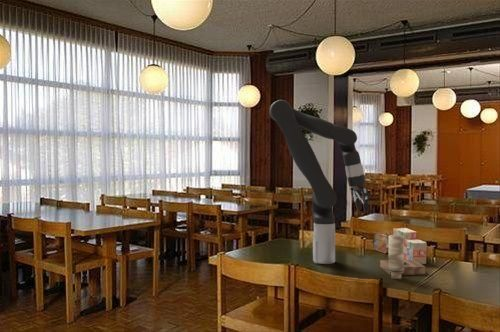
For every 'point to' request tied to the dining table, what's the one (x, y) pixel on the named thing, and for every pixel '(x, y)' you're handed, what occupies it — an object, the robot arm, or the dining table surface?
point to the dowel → (396, 256)
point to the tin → (381, 243)
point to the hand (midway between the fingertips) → (363, 210)
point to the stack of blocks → (412, 245)
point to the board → (405, 267)
